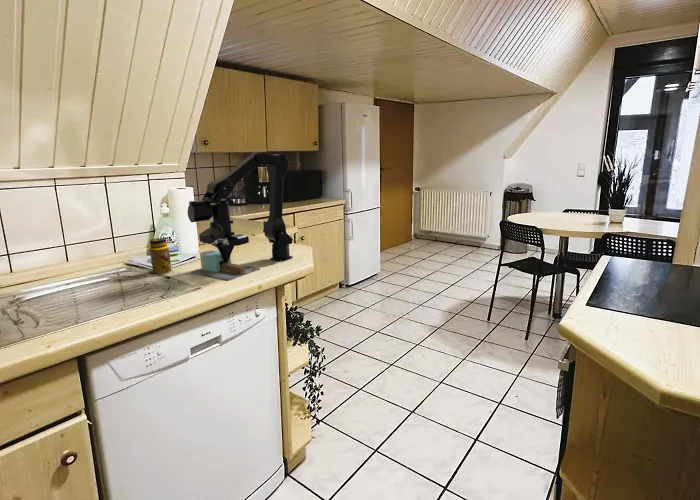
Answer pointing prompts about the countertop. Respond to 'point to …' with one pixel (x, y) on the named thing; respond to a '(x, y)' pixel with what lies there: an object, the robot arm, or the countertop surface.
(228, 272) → the rail track
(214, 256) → the block
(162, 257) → the condiment
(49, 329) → the countertop surface
